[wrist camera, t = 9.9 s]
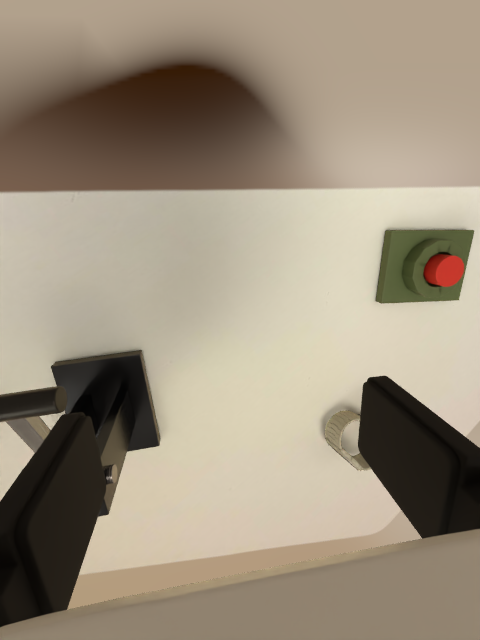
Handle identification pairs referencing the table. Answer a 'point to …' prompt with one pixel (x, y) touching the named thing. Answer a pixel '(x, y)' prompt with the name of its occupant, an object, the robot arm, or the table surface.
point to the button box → (419, 264)
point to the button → (444, 270)
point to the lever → (32, 412)
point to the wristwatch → (334, 437)
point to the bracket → (111, 407)
